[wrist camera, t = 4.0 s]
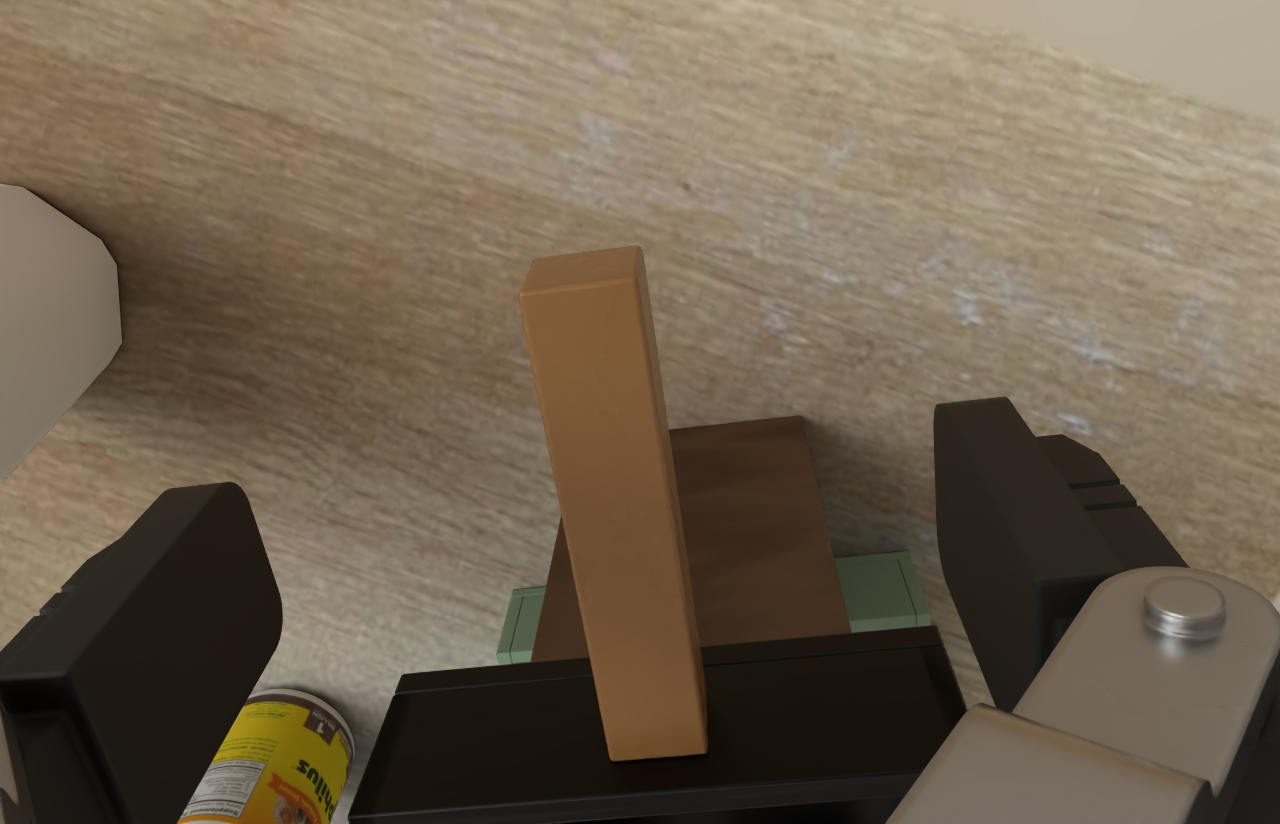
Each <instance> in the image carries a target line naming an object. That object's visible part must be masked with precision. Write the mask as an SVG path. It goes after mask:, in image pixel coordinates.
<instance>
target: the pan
mask: <svg viewBox="0 0 1280 824" xmlns="http://www.w3.org/2000/svg"><path fill="white" fill-rule="evenodd" d="M518 298H519V303H520V308H521V313H522V318H523V323H524V328H525V333H526V338H527V343H528V348H529V353H530V358H531V363H532V368H533V373H534V378H535V384H536V389H537V394H538V399H539V404H540V409H541V414H542V419H543V424H544V429H545V434H546V439H547V444H548V449H549V454H550V459H551V464H552V470H553V475H554V480H555V485H556V490H557V495H558V500H559V505H560V510H561V515H562V520H563V525H564V530H565V535H566V540H567V545H568V550H569V555H570V561H571V566H572V571H573V576H574V581H575V586H576V591H577V596H578V601H579V606H580V611H581V616H582V621H583V626H584V631H585V636H586V641H587V646H588V652H589V657H582V658H571V659H561V660H550V661H539V662H528V663H517V664H506V665H496V666H485V667H474V668H463V669H452V670H441V671H431V672H420V673H409V674H403V675H402V676H401V678H400V680H399V683H398V686H397V688H396V691H395V695H394V696H393V698H392V701H391V704H390V706H389V709H388V711H387V714H386V717H385V719H384V722H383V725H382V727H381V730H380V732H379V735H378V738H377V740H376V743H375V746H374V748H373V751H372V753H371V756H370V759H369V761H368V764H367V767H366V769H365V772H364V774H363V777H362V780H361V782H360V785H359V788H358V790H357V793H356V795H355V798H354V801H353V803H352V806H351V809H350V811H349V814H348V821H349V824H885V823H886V822H887V820H888V819H889V818H890V816H891V815H892V813H893V812H894V811H895V809H896V808H897V807H898V805H899V804H900V802H901V801H902V800H903V798H904V797H905V795H906V794H907V793H908V791H909V790H910V789H911V787H912V786H913V784H914V783H915V782H916V780H917V779H918V777H919V776H920V775H921V773H922V772H923V771H924V769H925V768H926V766H927V765H928V764H929V762H930V761H931V759H932V758H933V757H934V755H935V754H936V752H937V751H938V750H939V748H940V747H941V746H942V744H943V743H944V741H945V740H946V739H947V737H948V736H949V734H950V733H951V732H952V730H953V729H954V728H955V726H956V725H957V723H958V722H959V721H960V719H961V718H962V717H963V716H964V714H965V713H966V712H967V711H968V710H967V707H966V704H965V701H964V699H963V696H962V693H961V690H960V688H959V685H958V682H957V679H956V677H955V674H954V671H953V668H952V665H951V663H950V660H949V657H948V654H947V652H946V649H945V647H944V644H943V641H942V638H941V635H940V633H939V630H938V628H937V626H935V625H929V626H918V627H908V628H897V629H886V630H875V631H864V632H853V633H842V634H832V635H821V636H810V637H799V638H788V639H777V640H767V641H756V642H745V643H734V644H723V645H712V646H702V647H700V642H699V635H698V628H697V621H696V614H695V607H694V600H693V593H692V587H691V580H690V573H689V566H688V559H687V552H686V545H685V538H684V531H683V524H682V518H681V511H680V504H679V497H678V490H677V483H676V476H675V469H674V462H673V456H672V449H671V442H670V435H669V428H668V421H667V414H666V407H665V400H664V393H663V387H662V380H661V373H660V366H659V359H658V352H657V345H656V338H655V331H654V324H653V318H652V311H651V304H650V297H649V290H648V283H647V276H646V269H645V262H644V256H643V250H642V248H641V247H640V246H628V247H621V248H613V249H605V250H597V251H589V252H582V253H574V254H566V255H558V256H551V257H543V258H537V259H535V260H533V262H532V264H531V267H530V269H529V271H528V273H527V275H526V278H525V280H524V282H523V284H522V286H521V288H520V291H519V294H518Z"/></svg>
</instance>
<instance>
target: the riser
mask: <svg viewBox="0 0 1280 824" xmlns="http://www.w3.org/2000/svg"><path fill="white" fill-rule="evenodd" d="M669 435H670V442H671V449H672V456H673V462H674V469H675V476H676V483H677V490H678V497H679V504H680V511H681V518H682V524H683V531H684V538H685V545H686V552H687V559H688V566H689V573H690V580H691V587H692V593H693V600H694V607H695V614H696V621H697V628H698V635H699V642H700V647H702V646H712V645H723V644H734V643H745V642H756V641H767V640H777V639H788V638H799V637H810V636H821V635H832V634H842V633H852V630H851V626H850V622H849V617H848V613H847V609H846V605H845V601H844V596H843V592H842V588H841V584H840V579H839V575H838V571H837V567H836V563H835V558H834V554H833V550H832V546H831V541H830V537H829V533H828V529H827V524H826V520H825V516H824V512H823V508H822V503H821V499H820V495H819V491H818V486H817V482H816V478H815V474H814V470H813V465H812V461H811V457H810V453H809V448H808V444H807V440H806V436H805V432H804V427H803V423H802V419H801V416H792V417H783V418H774V419H765V420H756V421H747V422H738V423H729V424H720V425H711V426H702V427H693V428H684V429H676V430H669ZM582 657H589V652H588V646H587V641H586V636H585V631H584V626H583V621H582V616H581V611H580V606H579V601H578V596H577V591H576V586H575V581H574V576H573V571H572V566H571V561H570V555H569V550H568V545H567V540H566V535H565V530H564V525H563V520H562V515H561V519H560V524H559V528H558V533H557V538H556V543H555V547H554V552H553V557H552V561H551V566H550V571H549V576H548V580H547V585H546V590H545V594H544V599H543V604H542V609H541V613H540V618H539V623H538V627H537V632H536V637H535V642H534V646H533V651H532V656H531V660H530V662H539V661H550V660H561V659H571V658H582Z"/></svg>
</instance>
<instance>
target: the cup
mask: <svg viewBox="0 0 1280 824" xmlns="http://www.w3.org/2000/svg"><path fill="white" fill-rule="evenodd" d="M121 344H122V334H121V319H120V305H119V290H118V276H117V265H116V263H115V261H114V260H113V258H112V257H111V255H110V253H109V252H108V250H107V248H106V247H105V245H104V244H103V242H102V240H101V239H99V238H98V237H96V236H95V235H93V234H92V233H90V232H89V231H87V230H86V229H84V228H83V227H81V226H80V225H78V224H77V223H76V222H74V221H73V220H71V219H70V218H68V217H67V216H65V215H64V214H62V213H61V212H59V211H58V210H56V209H55V208H53V207H52V206H50V205H49V204H47V203H46V202H44V201H43V200H41V199H40V198H39V197H37V196H36V195H34V194H33V193H31V192H30V191H28V190H27V189H25V188H24V187H19V186H12V185H5V184H0V486H1V485H2V484H3V482H4V481H5V480H6V479H7V478H8V477H9V476H10V475H11V473H12V472H13V471H14V470H15V469H16V468H17V467H18V466H19V464H20V463H21V462H22V461H23V460H24V459H25V458H26V457H27V455H28V454H29V453H30V452H31V451H32V450H33V449H34V448H35V446H36V445H37V444H38V443H39V442H40V441H41V440H42V439H43V437H44V436H45V435H46V434H47V433H48V432H49V431H50V430H51V428H52V427H53V426H54V425H55V424H56V423H57V422H58V421H59V419H60V418H61V417H62V416H63V415H64V414H65V413H66V412H67V410H68V409H69V408H70V407H71V406H72V405H73V404H74V403H75V401H76V400H77V399H78V398H79V397H80V396H81V395H82V394H83V392H84V391H85V390H86V389H87V388H88V387H89V386H90V385H91V383H92V382H93V381H94V380H95V379H96V378H97V377H98V376H99V374H100V373H101V372H102V371H103V370H104V369H105V368H106V367H107V365H108V364H109V363H110V362H111V360H112V359H113V357H114V355H115V354H116V352H117V350H118V349H119V347H120V345H121Z"/></svg>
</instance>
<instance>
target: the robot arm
mask: <svg viewBox="0 0 1280 824" xmlns="http://www.w3.org/2000/svg"><path fill="white" fill-rule="evenodd" d="M934 459H935V490H936V521H937V538H938V547H939V554H940V559H941V564H942V569H943V573H944V577H945V580H946V583H947V586H948V589H949V591H950V594H951V596H952V599H953V601H954V604H955V606H956V609H957V611H958V613H959V616H960V618H961V621H962V623H963V626H964V628H965V631H966V633H967V636H968V638H969V641H970V643H971V646H972V648H973V651H974V653H975V656H976V658H977V661H978V663H979V666H980V668H981V671H982V673H983V676H984V678H985V681H986V683H987V686H988V688H989V691H990V693H991V696H992V698H993V701H994V703H995V706H996V707H993V706H990V705H987V704H984V703H980V704H977V705H975V706H973V707H972V708H970V709H969V710H968V711H967V712H966V713H965V714H964V716H963V717H962V718H961V719H960V721H959V722H958V723H957V725H956V726H955V728H954V729H953V730H952V732H951V733H950V734H949V736H948V737H947V739H946V740H945V741H944V743H943V744H942V746H941V747H940V748H939V750H938V751H937V752H936V754H935V755H934V757H933V758H932V759H931V761H930V762H929V764H928V765H927V766H926V768H925V769H924V771H923V772H922V773H921V775H920V776H919V777H918V779H917V780H916V782H915V783H914V784H913V786H912V787H911V789H910V790H909V791H908V793H907V794H906V795H905V797H904V798H903V800H902V801H901V802H900V804H899V805H898V807H897V808H896V809H895V811H894V812H893V813H892V815H891V816H890V818H889V819H888V820H887V822H886V823H885V824H1280V614H1279V612H1278V611H1277V610H1276V609H1275V607H1274V606H1273V605H1272V604H1271V603H1270V602H1269V601H1268V600H1267V599H1266V598H1264V597H1263V596H1262V595H1261V594H1259V593H1258V592H1256V591H1255V590H1253V589H1251V588H1250V587H1248V586H1246V585H1244V584H1242V583H1240V582H1238V581H1235V580H1233V579H1230V578H1227V577H1225V576H1222V575H1218V574H1215V573H1211V572H1208V571H1203V570H1197V569H1192V568H1189V566H1188V565H1187V564H1186V563H1185V561H1184V560H1183V559H1182V558H1181V556H1180V555H1179V554H1178V553H1177V551H1176V550H1175V549H1174V548H1173V546H1172V545H1171V544H1170V542H1169V541H1168V540H1167V539H1166V537H1165V536H1164V535H1163V534H1162V532H1161V531H1160V530H1159V529H1158V527H1157V526H1156V525H1155V524H1154V522H1153V521H1152V520H1151V518H1150V517H1149V516H1148V515H1147V513H1146V512H1145V511H1144V510H1143V508H1142V507H1141V506H1137V503H1136V500H1135V498H1134V497H1133V496H1132V494H1131V493H1130V492H1129V491H1128V489H1127V488H1126V487H1125V486H1124V484H1123V485H1120V479H1119V478H1118V477H1117V476H1116V474H1115V473H1114V472H1113V470H1112V469H1111V468H1110V467H1109V465H1108V464H1107V463H1106V462H1105V460H1104V459H1103V458H1102V457H1101V455H1100V454H1099V453H1097V452H1095V451H1093V450H1091V449H1089V448H1087V447H1085V446H1083V445H1082V444H1080V443H1078V442H1076V441H1074V440H1072V439H1070V438H1068V437H1066V436H1065V435H1063V434H1059V435H1050V436H1041V437H1035V436H1034V435H1033V433H1032V432H1031V430H1030V429H1029V428H1028V426H1027V425H1026V423H1025V422H1024V420H1023V419H1022V417H1021V416H1020V415H1019V413H1018V412H1017V410H1016V409H1015V407H1014V406H1013V404H1012V403H1011V402H1010V400H1009V399H1008V398H1007V397H996V398H987V399H978V400H969V401H961V402H952V403H943V404H937V405H936V407H935V411H934ZM61 589H62V591H61V593H55V595H54V596H53V597H52V598H51V599H50V600H49V601H48V602H47V603H46V604H45V605H44V606H43V607H42V608H41V609H40V610H39V611H40V616H34V617H33V618H32V619H31V620H30V621H29V622H28V623H27V624H26V625H25V626H24V627H23V628H22V629H21V631H20V632H19V633H18V634H17V635H16V636H15V637H14V638H13V639H12V640H11V641H10V642H9V643H8V644H7V645H6V646H5V647H4V649H3V650H2V651H1V652H0V824H177V823H178V821H179V819H180V817H181V816H182V814H183V812H184V810H185V809H186V807H187V805H188V803H189V802H190V800H191V798H192V796H193V794H194V793H195V791H196V789H197V787H198V786H199V784H200V782H201V780H202V779H203V777H204V775H205V773H206V771H207V770H208V768H209V766H210V764H211V763H212V761H213V759H214V757H215V756H216V754H217V752H218V750H219V749H220V747H221V745H222V743H223V741H224V740H225V738H226V736H227V734H228V733H229V731H230V729H231V727H232V726H233V724H234V722H235V720H236V719H237V717H238V715H239V713H240V711H241V710H242V708H243V706H244V704H245V703H246V701H247V699H248V697H249V696H250V694H251V692H252V690H253V688H254V687H255V685H256V683H257V681H258V680H259V678H260V676H261V674H262V673H263V671H264V669H265V667H266V666H267V664H268V662H269V660H270V658H271V657H272V655H273V653H274V651H275V650H276V648H277V645H278V643H279V640H280V636H281V631H282V621H283V613H282V602H281V597H280V593H279V590H278V587H277V584H276V581H275V578H274V575H273V572H272V569H271V566H270V563H269V560H268V557H267V554H266V551H265V548H264V545H263V542H262V539H261V536H260V533H259V530H258V527H257V524H256V521H255V518H254V515H253V512H252V509H251V506H250V503H249V501H248V498H247V496H246V494H245V492H244V491H243V490H242V488H241V487H240V486H239V485H237V484H236V483H233V482H225V483H216V484H207V485H198V486H189V487H180V488H171V489H168V490H166V491H164V492H163V493H162V494H161V495H160V496H159V497H158V498H157V499H156V500H155V501H154V503H153V504H152V505H151V506H150V507H149V508H148V509H147V510H146V511H145V512H144V513H143V514H142V516H141V517H140V518H139V519H138V520H137V521H136V522H135V523H134V524H133V525H132V526H131V527H130V529H129V530H128V531H127V532H126V533H125V534H124V535H123V536H122V537H121V538H120V539H118V540H117V541H115V542H114V543H112V544H111V545H109V546H108V547H106V548H105V549H103V550H102V551H100V552H98V553H97V554H95V555H94V556H92V557H91V558H89V559H88V560H87V561H86V562H85V563H84V564H83V565H82V566H81V567H80V568H79V569H78V570H77V571H76V572H75V573H74V574H73V575H72V577H71V578H70V579H69V580H68V581H67V582H66V583H65V584H64V585H63V586H62V587H61Z"/></svg>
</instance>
